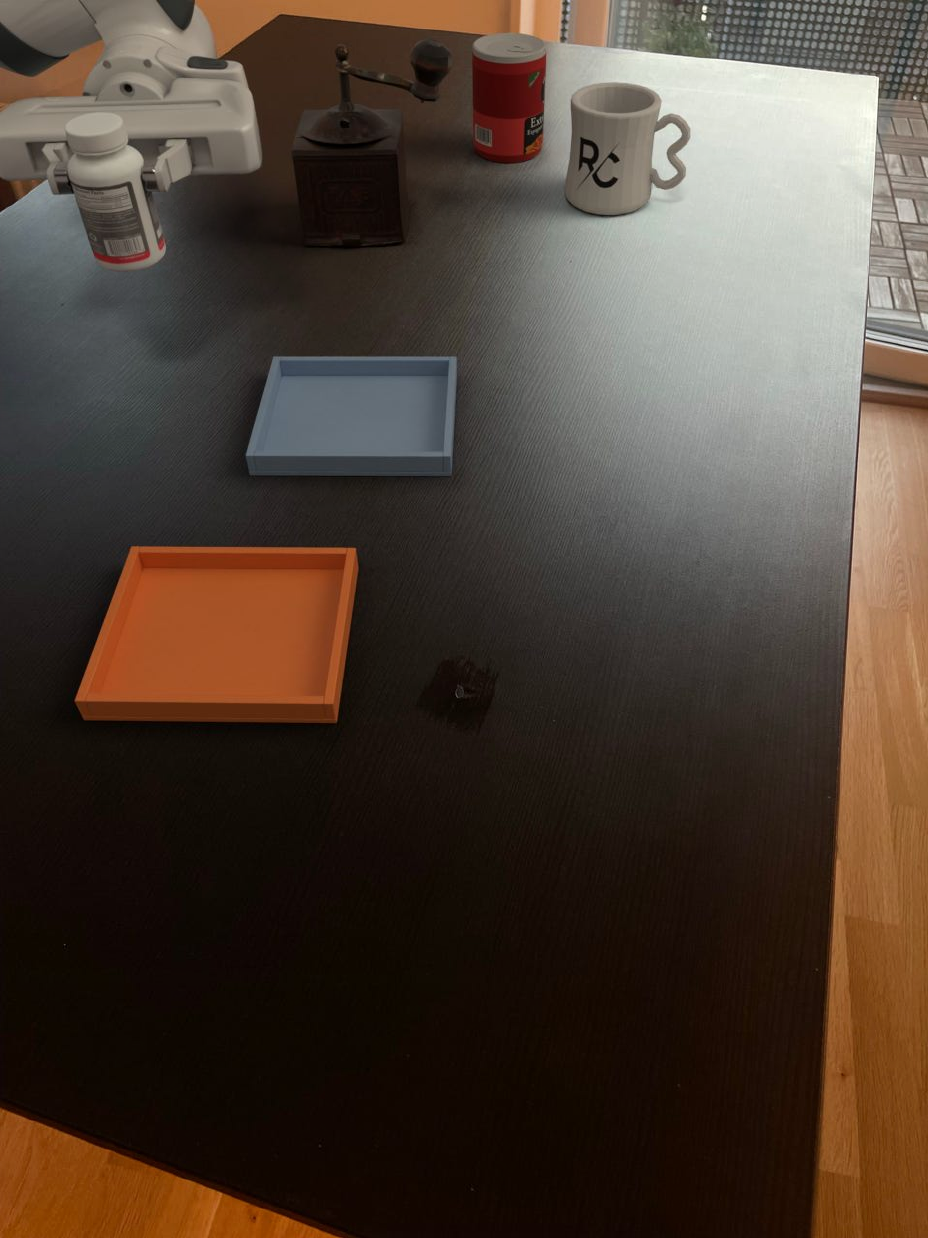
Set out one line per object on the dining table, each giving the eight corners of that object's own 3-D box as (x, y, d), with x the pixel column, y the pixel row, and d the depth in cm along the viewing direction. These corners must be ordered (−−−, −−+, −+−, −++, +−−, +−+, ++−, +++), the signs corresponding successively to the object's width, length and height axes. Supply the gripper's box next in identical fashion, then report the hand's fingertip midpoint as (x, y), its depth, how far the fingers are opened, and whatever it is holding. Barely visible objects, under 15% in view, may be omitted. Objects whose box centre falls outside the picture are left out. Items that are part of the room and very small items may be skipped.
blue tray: (249, 475, 75) (245, 455, 74) (276, 375, 84) (273, 355, 82) (451, 476, 74) (450, 456, 73) (457, 375, 83) (456, 356, 82)
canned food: (539, 165, 111) (543, 57, 103) (468, 162, 112) (466, 54, 104) (546, 137, 116) (550, 32, 108) (478, 134, 117) (477, 30, 109)
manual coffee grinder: (300, 250, 99) (271, 51, 85) (312, 200, 106) (287, 9, 93) (456, 248, 98) (452, 48, 85) (457, 198, 106) (454, 7, 93)
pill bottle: (124, 234, 78) (87, 103, 71) (181, 246, 77) (149, 113, 70) (80, 266, 75) (36, 132, 68) (139, 279, 73) (101, 143, 66)
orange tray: (83, 720, 60) (74, 701, 58) (138, 566, 68) (131, 545, 67) (336, 723, 59) (333, 703, 58) (358, 567, 68) (356, 547, 67)
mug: (554, 211, 103) (559, 110, 96) (575, 175, 109) (582, 76, 102) (672, 227, 100) (687, 124, 93) (688, 189, 106) (703, 89, 99)
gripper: (-1, 68, 78) (-58, 141, 68) (262, 61, 78) (240, 133, 69) (27, 151, 82) (-23, 230, 73) (274, 143, 83) (256, 221, 73)
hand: (107, 183), depth 71 cm, fingers closed on pill bottle, 5 cm apart
